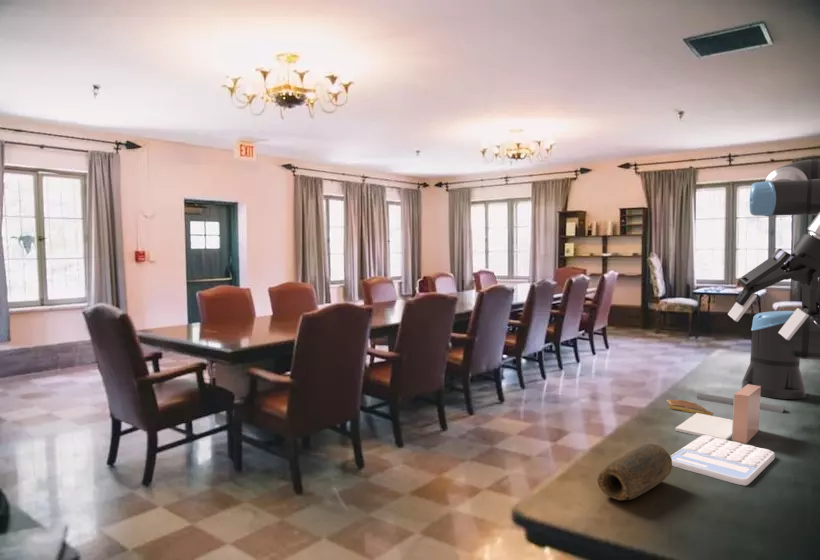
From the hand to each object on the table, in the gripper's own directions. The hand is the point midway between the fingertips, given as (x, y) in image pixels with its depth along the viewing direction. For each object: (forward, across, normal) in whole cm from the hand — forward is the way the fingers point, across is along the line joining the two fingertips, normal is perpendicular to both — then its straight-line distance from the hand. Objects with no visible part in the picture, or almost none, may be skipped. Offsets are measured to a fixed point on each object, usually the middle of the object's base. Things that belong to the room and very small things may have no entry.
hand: (758, 327), depth 116 cm
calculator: (+22, -9, -21) cm, 31 cm away
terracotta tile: (+21, +7, -8) cm, 24 cm away
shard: (+29, +9, +9) cm, 32 cm away
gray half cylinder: (+26, +24, +13) cm, 38 cm away
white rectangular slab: (+25, +3, -4) cm, 25 cm away
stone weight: (+24, -32, -32) cm, 51 cm away
